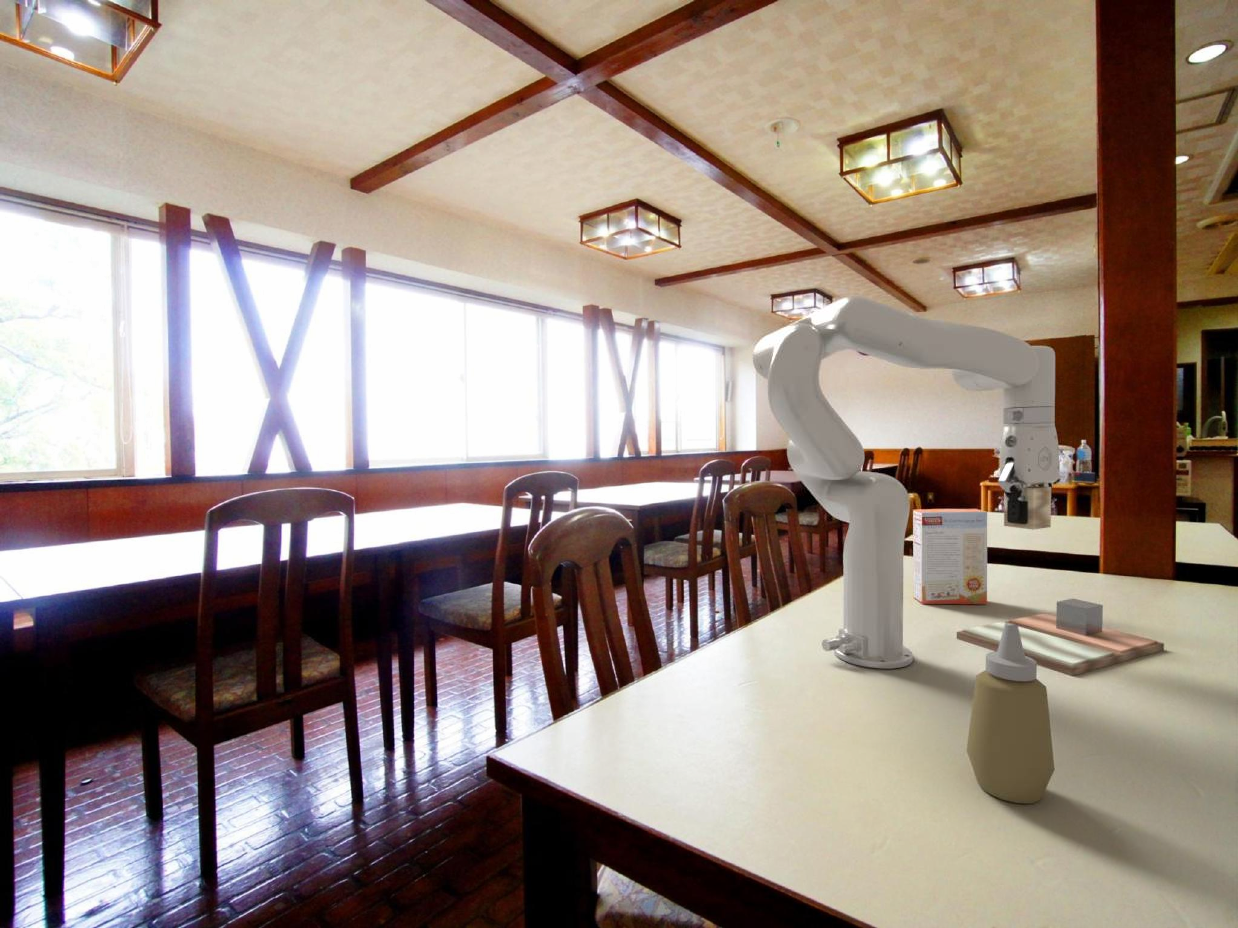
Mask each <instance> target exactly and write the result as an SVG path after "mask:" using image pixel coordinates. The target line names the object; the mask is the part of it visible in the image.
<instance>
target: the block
mask: <svg viewBox="0 0 1238 928" xmlns="http://www.w3.org/2000/svg"><path fill="white" fill-rule="evenodd" d="M1016 488H1017V489H1018V491H1019V489H1020V487H1016ZM1003 493H1004V492H1003ZM1005 495H1006V494H1005V493H1004V494H1003V496H1004V497H1003V498H1004V501H1003V505H1004V506H1003V516H1004V517H1003V526H1004V527H1010V528H1016V529H1026V530H1032V531H1033V530H1041V529H1048V528H1051V527H1052V525H1051V523H1052V522H1051V521H1052V516H1051V515H1052V488H1051V487H1042V486H1038V485H1036V486H1029V485H1028V486H1027V492H1026V497H1025V500H1024V501H1028V523H1027V524H1016V523H1009V522H1008V521H1007V500H1006V498H1005Z"/></svg>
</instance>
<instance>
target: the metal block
mask: <svg viewBox="0 0 1238 928" xmlns="http://www.w3.org/2000/svg"><path fill="white" fill-rule="evenodd" d="M1103 606H1104V604H1099V603H1095V602H1091V601H1086V600H1082V599H1077V598H1069V599H1064V600H1059V601H1056V615H1055V616H1056V628H1057V629H1061V630H1065V631H1068V632H1072V633H1076V634H1080V635H1083V636H1088V635H1092V634H1096V633H1100V632H1102V627H1103V615H1104V614H1103V612H1104V611H1103Z"/></svg>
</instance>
